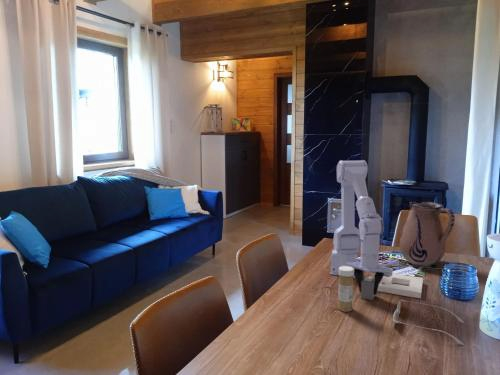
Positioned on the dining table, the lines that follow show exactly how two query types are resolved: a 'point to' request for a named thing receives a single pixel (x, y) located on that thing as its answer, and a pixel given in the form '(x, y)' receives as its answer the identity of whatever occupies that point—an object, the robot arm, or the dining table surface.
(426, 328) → the eyeglasses
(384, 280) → the socket plate
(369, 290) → the plug
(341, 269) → the sprinkles bottle
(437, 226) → the ceramic pitcher
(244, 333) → the dining table surface
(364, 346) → the dining table surface
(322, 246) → the dining table surface
